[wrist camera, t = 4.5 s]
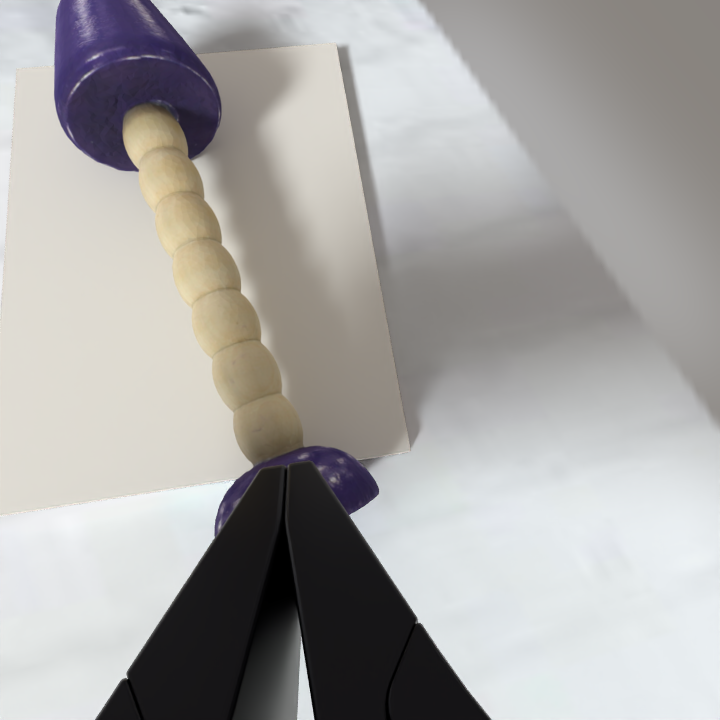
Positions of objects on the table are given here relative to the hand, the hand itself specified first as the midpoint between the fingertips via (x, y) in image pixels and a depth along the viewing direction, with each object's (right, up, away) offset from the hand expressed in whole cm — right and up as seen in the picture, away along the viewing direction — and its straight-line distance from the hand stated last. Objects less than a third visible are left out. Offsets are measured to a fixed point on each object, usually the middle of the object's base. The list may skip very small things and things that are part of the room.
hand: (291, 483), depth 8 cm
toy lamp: (-1, -3, +4) cm, 5 cm away
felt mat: (-5, +6, +8) cm, 11 cm away
